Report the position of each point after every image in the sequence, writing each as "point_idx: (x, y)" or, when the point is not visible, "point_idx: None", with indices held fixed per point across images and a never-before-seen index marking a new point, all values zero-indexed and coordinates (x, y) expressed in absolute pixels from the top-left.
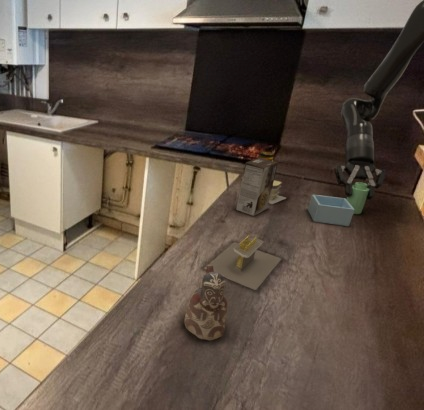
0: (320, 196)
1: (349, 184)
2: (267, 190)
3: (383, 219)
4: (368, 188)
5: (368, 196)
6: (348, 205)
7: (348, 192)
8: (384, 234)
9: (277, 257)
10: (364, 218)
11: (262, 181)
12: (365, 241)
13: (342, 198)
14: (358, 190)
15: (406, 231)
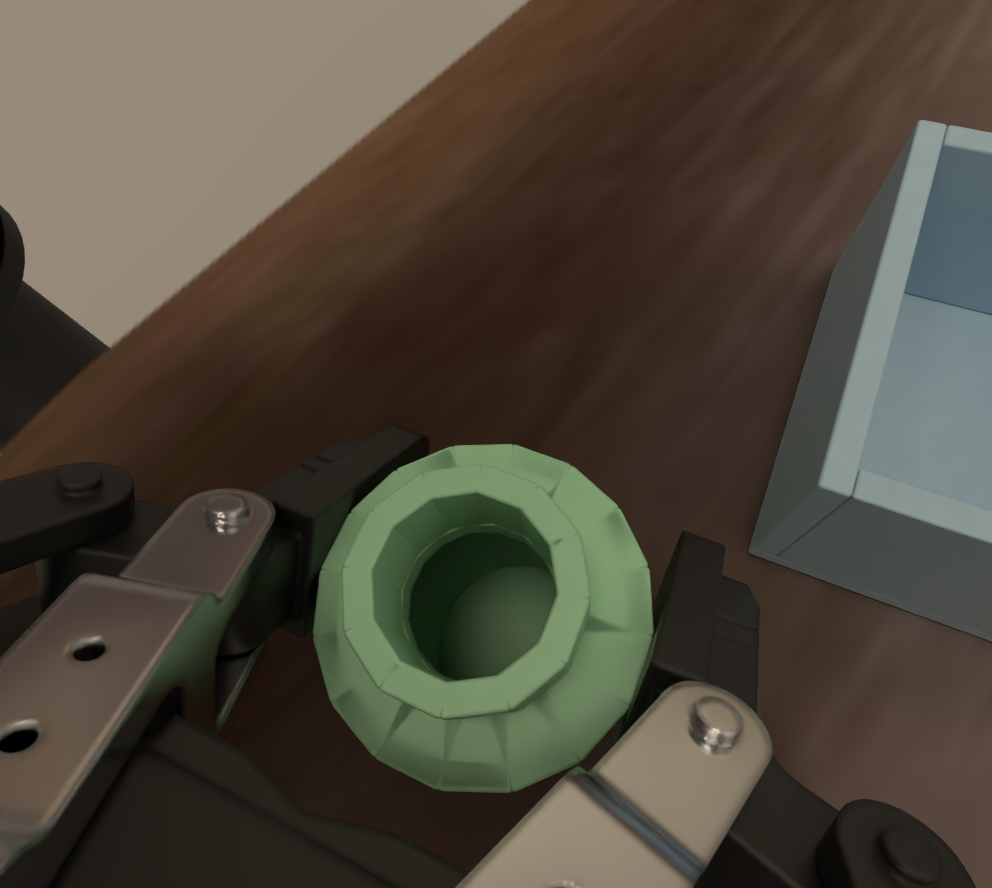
0: None
1: (705, 686)
2: None
3: (344, 427)
4: (320, 562)
5: None
6: (912, 254)
7: (724, 586)
8: (598, 157)
9: None
10: (529, 447)
11: None
12: (848, 51)
13: (879, 478)
14: (595, 490)
15: (363, 213)
